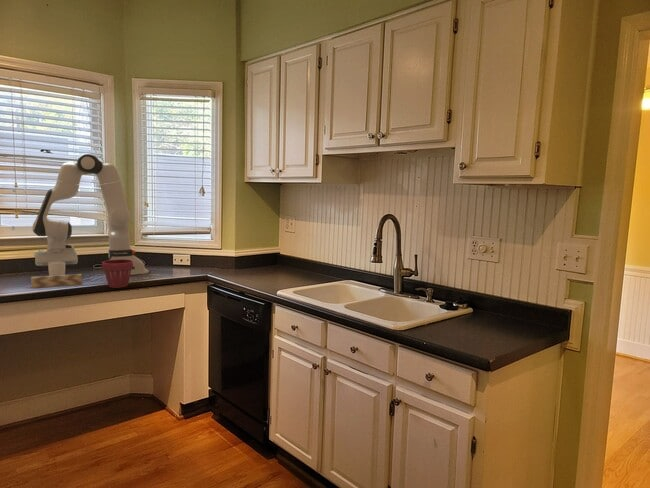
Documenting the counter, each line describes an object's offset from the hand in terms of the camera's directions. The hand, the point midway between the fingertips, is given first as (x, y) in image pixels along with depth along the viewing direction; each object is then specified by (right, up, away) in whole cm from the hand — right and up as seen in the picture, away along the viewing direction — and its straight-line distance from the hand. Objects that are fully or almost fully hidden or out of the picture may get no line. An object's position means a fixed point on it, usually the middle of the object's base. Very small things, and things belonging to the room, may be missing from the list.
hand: (57, 270), depth 250 cm
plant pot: (+39, -8, -13) cm, 42 cm away
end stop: (+9, -7, -15) cm, 18 cm away
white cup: (+3, -6, -5) cm, 8 cm away
